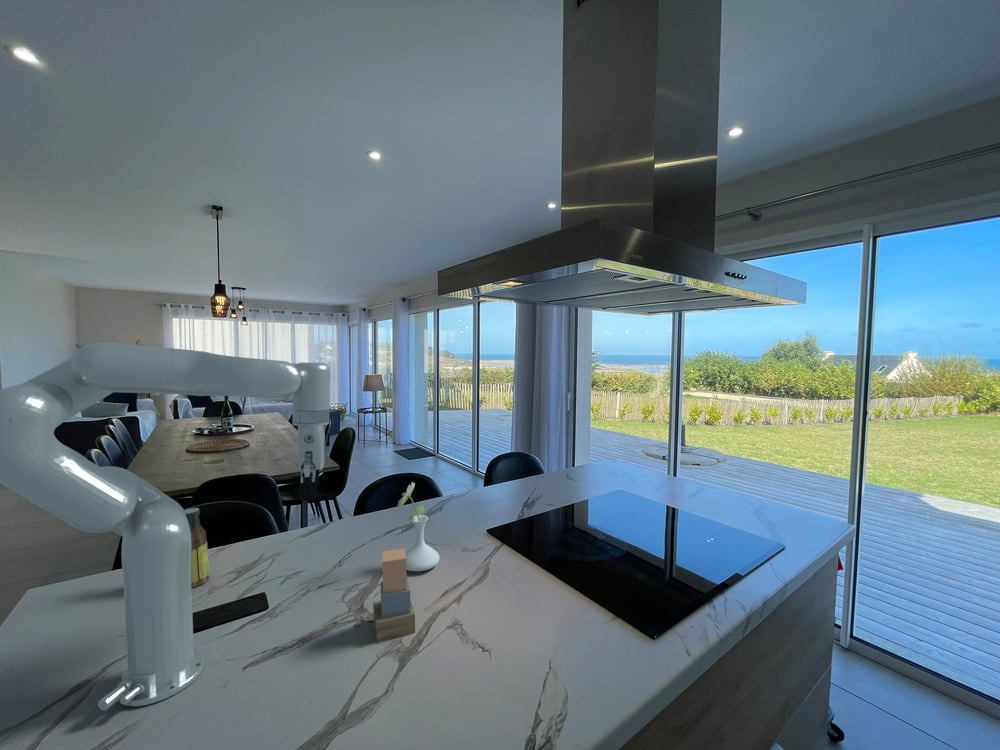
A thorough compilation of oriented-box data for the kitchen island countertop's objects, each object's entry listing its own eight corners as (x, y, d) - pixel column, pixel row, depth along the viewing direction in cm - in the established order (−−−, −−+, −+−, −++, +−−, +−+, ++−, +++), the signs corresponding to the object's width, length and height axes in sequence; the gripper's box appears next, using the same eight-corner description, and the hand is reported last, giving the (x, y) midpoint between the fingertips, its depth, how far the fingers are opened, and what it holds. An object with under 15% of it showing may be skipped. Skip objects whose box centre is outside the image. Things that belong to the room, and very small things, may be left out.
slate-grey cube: (410, 613, 90) (410, 590, 90) (381, 618, 88) (381, 595, 88) (407, 597, 96) (407, 576, 96) (380, 602, 94) (380, 581, 94)
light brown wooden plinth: (415, 634, 90) (414, 614, 90) (377, 643, 87) (376, 623, 87) (408, 613, 98) (408, 594, 97) (373, 621, 94) (373, 602, 94)
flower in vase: (418, 552, 127) (417, 472, 126) (447, 561, 121) (447, 477, 120) (386, 571, 116) (385, 483, 115) (417, 582, 110) (416, 490, 109)
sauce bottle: (205, 574, 114) (203, 503, 113) (212, 582, 110) (210, 508, 109) (175, 584, 109) (173, 510, 108) (182, 593, 105) (180, 516, 104)
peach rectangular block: (406, 589, 90) (406, 558, 90) (383, 593, 89) (382, 562, 89) (405, 578, 95) (404, 548, 95) (382, 581, 94) (382, 551, 93)
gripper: (327, 422, 86) (325, 504, 86) (330, 412, 102) (329, 481, 102) (287, 423, 83) (285, 507, 83) (297, 413, 99) (295, 483, 100)
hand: (309, 493), depth 93 cm, fingers open, 9 cm apart
